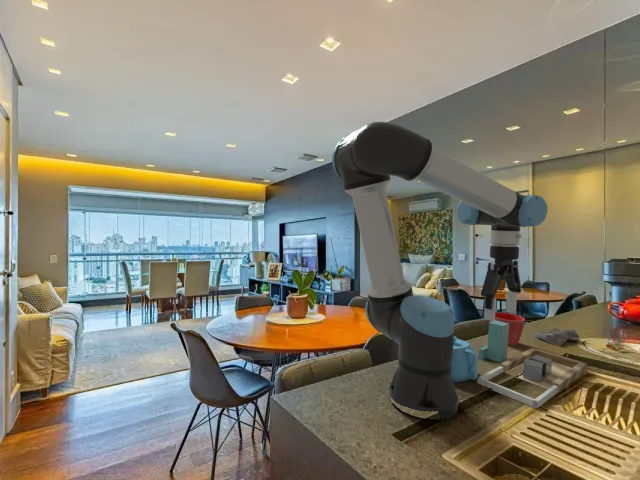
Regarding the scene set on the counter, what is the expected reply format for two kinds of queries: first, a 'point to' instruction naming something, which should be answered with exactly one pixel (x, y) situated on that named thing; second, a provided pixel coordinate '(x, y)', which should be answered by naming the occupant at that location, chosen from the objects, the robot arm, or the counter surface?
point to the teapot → (463, 361)
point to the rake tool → (496, 342)
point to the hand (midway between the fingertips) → (500, 316)
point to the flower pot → (511, 326)
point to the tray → (513, 394)
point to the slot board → (561, 368)
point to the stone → (558, 336)
